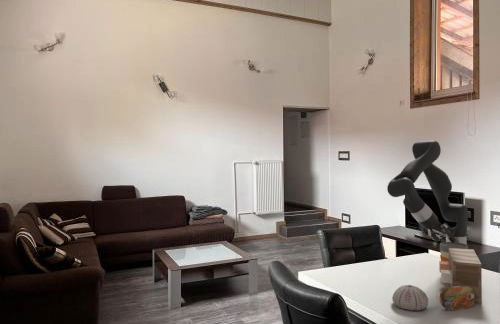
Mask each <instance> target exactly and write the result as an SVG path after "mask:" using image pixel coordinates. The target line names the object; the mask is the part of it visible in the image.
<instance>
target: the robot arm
mask: <svg viewBox="0 0 500 324" xmlns="http://www.w3.org/2000/svg"><path fill="white" fill-rule="evenodd" d="M411 150H412V155H413V157H414V160H412V161H410V162H408V163H407V164H406V165H405V167H404V168H403V169H401V172H400V173H399V174H398V175H396V176H395V177H393V178H391V180H390V181H389V182H388V184H387V186H386V187H387V189H386V190H387V193H388V195H390V197H393V198H399V197H402V196H405V197H404V199H402V200H403V201H402V203H403V206H404V207H405V208H406V209H407V210H408V212H410V214H411V216H412V218H414V219H415V220H416V221H417V223H418V224H419V225H418V228H419V229H420V231H422V233H423V234H424V235H425V236H429V237H430V238H432V240H433V241H434V243H439V241H440V237H439V236H438V235H437V234H439V235H441V236H445V242H451V243H455V242H458V243H463V244H466V245H468V244H467V232H468V217H469V215H468V214H469V213H468V212H469V211H468V207H467V206H466V204H462V203H461V204H460V203H451V202H450V201H449V199H448V198H449V196H450V195H451V194H450V193H451V191H452V189H453V185H452V183H451V180H450V177H449V176H448V174H447V173H446V172H445V171H444V170H443V169H441V168H440V167H438V166H437V165H435V164H434V163H435V162H436V161H437V159H439V157H441V156H440V155H441V153H442V152H441V151H442V150H441V144H440V143H439V142H438V140H437V141H436V140H431V139H430V140H420V141H416V142H414V143H413V144H412V148H411ZM422 173H423V174H424V175H425V176H424V177H426V180H427V182H428V185H429V187H430V188H431V190H432V193H433V194H434V197H435V198H436V201H437V204H438V207H439V210H440V213H441V216H442V217H443V219H444V220H445V221H447V222H453V223H456V224H455V225H456V226H454V227H452V226H450V225H449V223H447V222H444V223H443V224H442V223H441V222H439V218H438V216H437V215H436V214H435V212H434V211H433V210H432V209H431V208H430V206H428V204H426V203H425V202H424V200H423V199H422V198H421V197H420V195H419V193H418V191H417V189H416V186H415V183H416V182H417V180H418V179H419V177H420V176H421V175H422Z"/></svg>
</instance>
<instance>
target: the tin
mask: <svg viewBox="0 0 500 324" xmlns="http://www.w3.org/2000/svg"><path fill="white" fill-rule="evenodd" d="M475 300H476V294H475V291H474V289H473V288H471V287H469V286H465V285H460V286H454V287H450V286H447V287H445V288H443V289H442V290H441V292H440V293H439V302H440V305H441V306H442V307H443V308H444V309H446V310H448V311H449V312H450V311H451V312H452V311H453V312H454V311H458V310H459V311H460V310H464V309H465V310H466V309H470V308H471V307H473V306H474V303H475Z"/></svg>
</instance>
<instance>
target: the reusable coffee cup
mask: <svg viewBox="0 0 500 324" xmlns="http://www.w3.org/2000/svg"><path fill="white" fill-rule="evenodd" d="M449 248H458V249H469V245H468V244H467V245H466V244H463V243H458V242H455V243H451V242H446V241H443V242H440V243H439V250H440V251H439V252H440V254H439V256H440V261H447V262H449Z"/></svg>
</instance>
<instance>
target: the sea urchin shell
mask: <svg viewBox="0 0 500 324" xmlns="http://www.w3.org/2000/svg"><path fill="white" fill-rule="evenodd" d="M391 299H392V303H393V304H394V305H395V306H397V307H399V308H401V309H404V310H408V311H420V310H421V311H422V310H424V309H426V308H427V307H428V304H429V301H430V300H429V297H428V295H427V294H426V293H425V291H423V290H422V289H421V288H419V287H417V286H415V285H413V284H405V285H404V284H403V285H401V286H399V287H397V288H396V290H394V292H393V294H392V296H391Z"/></svg>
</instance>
